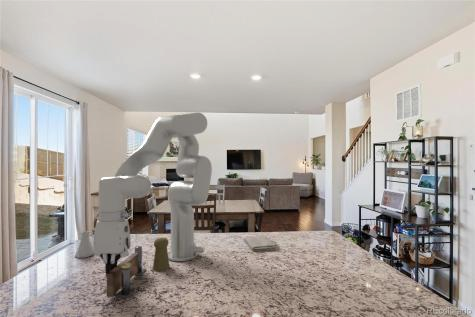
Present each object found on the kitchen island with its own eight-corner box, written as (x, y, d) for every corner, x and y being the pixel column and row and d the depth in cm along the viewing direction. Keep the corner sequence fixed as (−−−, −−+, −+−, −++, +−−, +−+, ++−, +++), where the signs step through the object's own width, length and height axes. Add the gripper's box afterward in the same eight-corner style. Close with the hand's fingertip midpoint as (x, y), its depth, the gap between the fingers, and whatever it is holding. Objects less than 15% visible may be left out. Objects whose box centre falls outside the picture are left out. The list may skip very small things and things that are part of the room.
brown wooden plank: (133, 271, 89) (133, 252, 89) (138, 271, 89) (138, 253, 89) (106, 296, 72) (106, 274, 73) (112, 296, 72) (112, 274, 72)
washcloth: (252, 253, 110) (252, 246, 110) (242, 241, 128) (242, 235, 128) (278, 251, 113) (278, 244, 113) (265, 239, 130) (265, 233, 130)
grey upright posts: (152, 270, 93) (152, 245, 93) (129, 297, 74) (129, 266, 74) (135, 269, 93) (135, 245, 93) (107, 297, 74) (107, 266, 74)
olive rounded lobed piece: (172, 265, 96) (172, 236, 97) (163, 272, 91) (163, 241, 91) (159, 263, 98) (159, 235, 99) (149, 270, 93) (149, 240, 93)
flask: (98, 252, 111) (98, 229, 111) (87, 258, 104) (87, 234, 104) (83, 252, 112) (83, 229, 112) (70, 258, 104) (70, 234, 105)
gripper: (140, 214, 82) (139, 270, 82) (97, 213, 84) (96, 268, 84) (128, 219, 75) (127, 281, 75) (81, 218, 76) (80, 279, 76)
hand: (111, 274), depth 79 cm, fingers closed
